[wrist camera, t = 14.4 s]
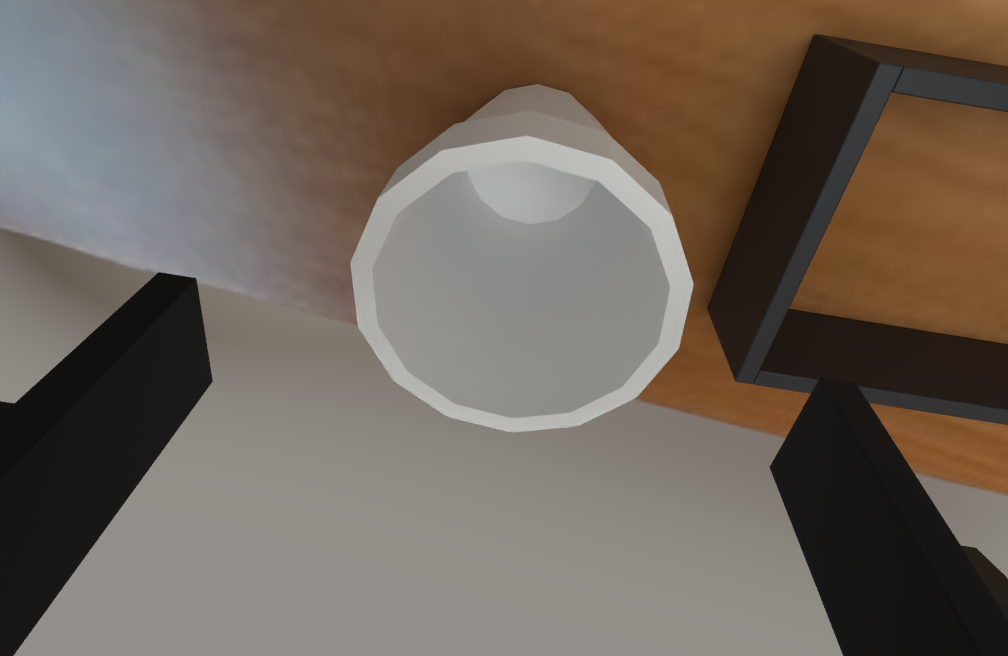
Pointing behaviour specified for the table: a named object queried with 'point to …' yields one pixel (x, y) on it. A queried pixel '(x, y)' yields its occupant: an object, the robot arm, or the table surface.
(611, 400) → the foam cup
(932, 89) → the organiser
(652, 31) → the table surface
